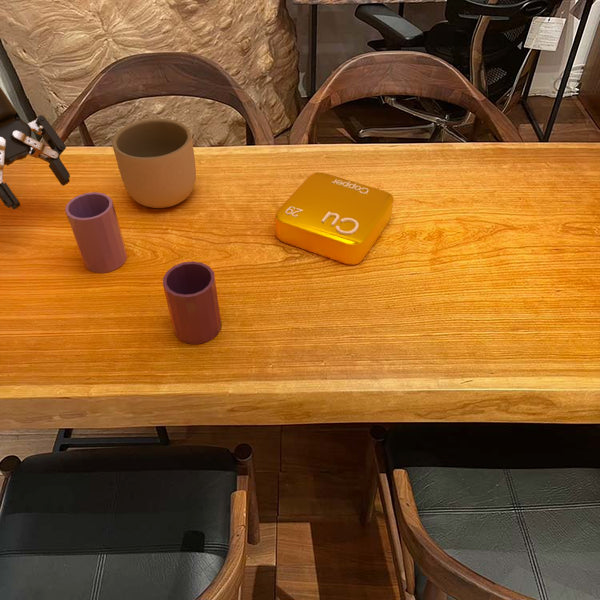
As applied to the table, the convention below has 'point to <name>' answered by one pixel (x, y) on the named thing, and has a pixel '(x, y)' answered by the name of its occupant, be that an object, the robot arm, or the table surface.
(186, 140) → the planter
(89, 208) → the lilac cup
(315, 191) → the element tile
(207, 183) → the table surface
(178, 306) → the plum cup
